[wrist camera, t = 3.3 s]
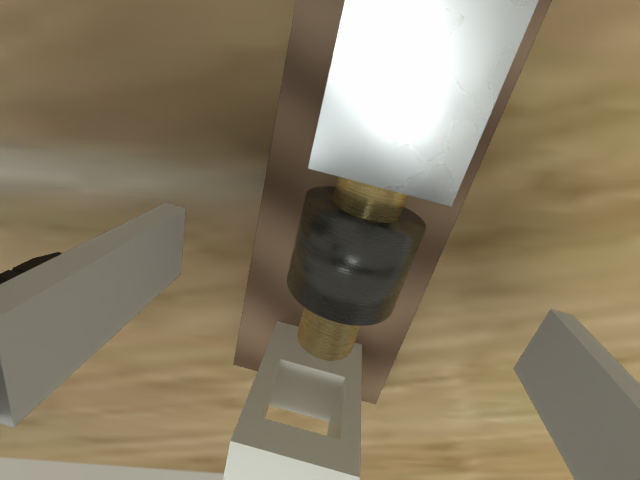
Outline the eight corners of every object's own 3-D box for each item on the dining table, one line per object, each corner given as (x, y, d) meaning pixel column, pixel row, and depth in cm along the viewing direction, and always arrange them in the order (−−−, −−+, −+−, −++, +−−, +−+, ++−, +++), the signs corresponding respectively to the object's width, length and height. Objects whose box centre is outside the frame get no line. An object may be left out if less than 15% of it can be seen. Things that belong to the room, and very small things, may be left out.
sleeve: (381, -73, 14) (398, -237, 7) (491, -45, 14) (616, -185, 7) (330, 140, 18) (307, 168, 11) (417, 163, 18) (451, 206, 11)
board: (317, -90, 15) (314, -105, 14) (554, -31, 15) (569, -41, 14) (238, 353, 26) (233, 364, 25) (375, 391, 26) (375, 404, 25)
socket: (281, 310, 24) (230, 440, 15) (362, 333, 24) (360, 477, 15) (271, 352, 26) (220, 492, 17) (347, 373, 26) (337, 526, 16)
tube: (396, -169, 11) (419, -356, 7) (544, -133, 11) (671, -297, 6) (286, 297, 19) (262, 362, 14) (372, 321, 19) (375, 393, 14)
